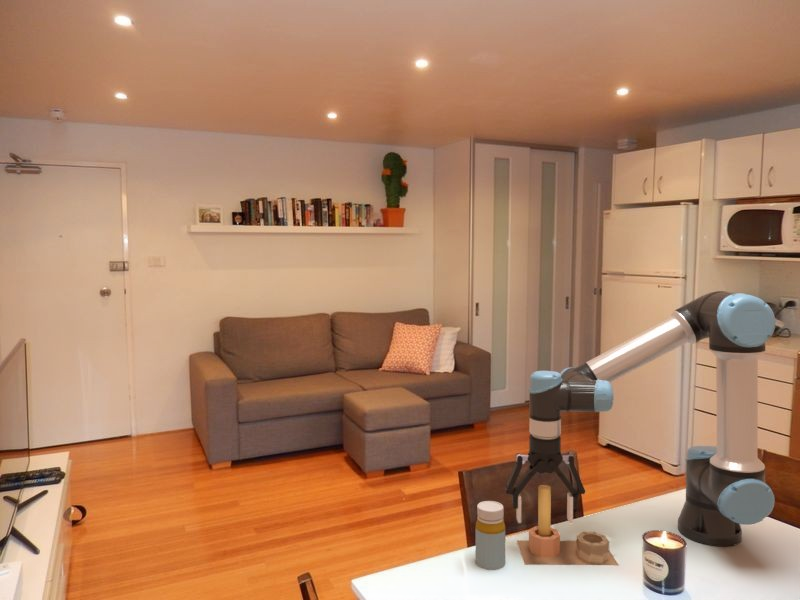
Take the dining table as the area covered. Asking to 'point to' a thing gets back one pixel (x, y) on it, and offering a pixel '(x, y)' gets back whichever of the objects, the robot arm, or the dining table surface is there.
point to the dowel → (544, 511)
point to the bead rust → (544, 543)
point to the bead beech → (592, 547)
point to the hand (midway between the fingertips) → (544, 520)
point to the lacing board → (563, 558)
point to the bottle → (490, 535)
